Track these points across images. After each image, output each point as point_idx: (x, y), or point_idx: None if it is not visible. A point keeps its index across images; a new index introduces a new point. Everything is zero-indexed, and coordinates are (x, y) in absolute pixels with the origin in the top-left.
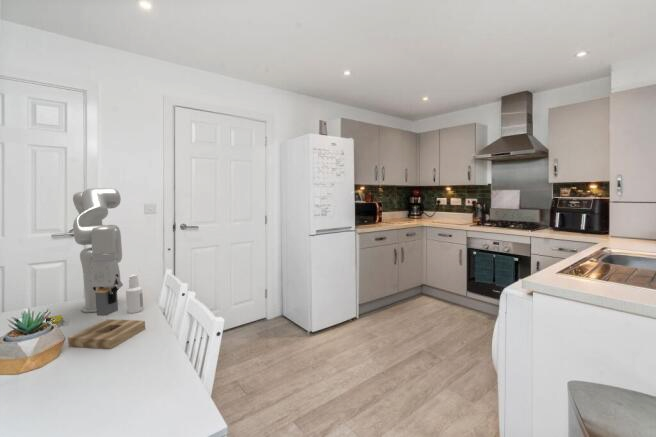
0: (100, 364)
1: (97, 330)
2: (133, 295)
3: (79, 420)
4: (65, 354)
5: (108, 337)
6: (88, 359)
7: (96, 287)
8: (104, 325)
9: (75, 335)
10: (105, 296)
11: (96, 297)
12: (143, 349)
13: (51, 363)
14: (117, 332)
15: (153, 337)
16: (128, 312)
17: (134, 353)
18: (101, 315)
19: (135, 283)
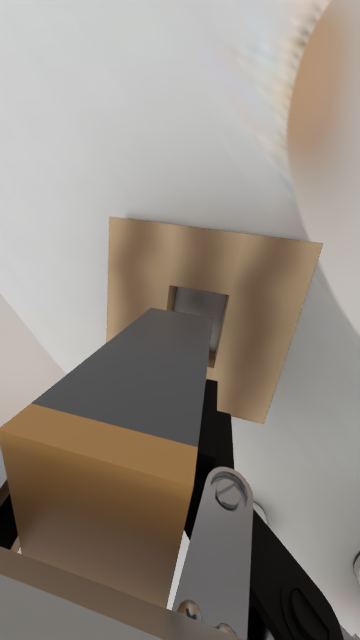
0: (80, 95)
1: (229, 314)
2: None
3: None
4: (272, 173)
5: (134, 239)
6: (149, 133)
7: (233, 621)
8: (232, 363)
9: (299, 266)
10: (75, 377)
11: (194, 388)
12: (25, 217)
13: (278, 85)
14: (132, 288)
15: (53, 303)
16: (254, 503)
17: (31, 187)
18: (181, 313)
19: None
